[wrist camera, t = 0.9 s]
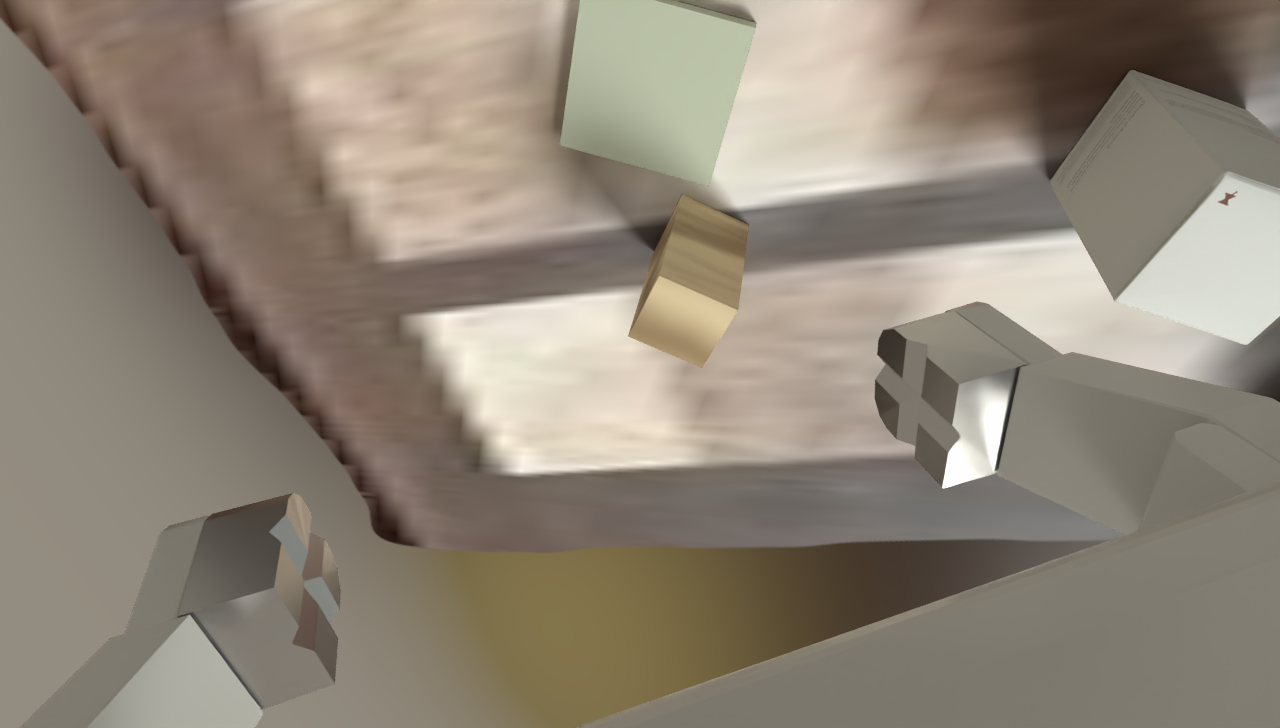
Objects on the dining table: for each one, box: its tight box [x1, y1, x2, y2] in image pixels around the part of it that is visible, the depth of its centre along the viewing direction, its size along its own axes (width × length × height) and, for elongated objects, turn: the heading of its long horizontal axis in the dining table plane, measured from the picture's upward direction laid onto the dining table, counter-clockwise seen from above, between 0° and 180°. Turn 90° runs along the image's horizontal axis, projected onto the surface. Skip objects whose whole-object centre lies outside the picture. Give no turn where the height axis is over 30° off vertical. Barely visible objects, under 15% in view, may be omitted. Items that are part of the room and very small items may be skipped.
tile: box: [560, 0, 756, 186], centre depth 45 cm, size 10×10×1 cm
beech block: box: [628, 195, 749, 368], centre depth 48 cm, size 5×5×10 cm
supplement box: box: [1050, 70, 1280, 345], centre depth 38 cm, size 7×7×13 cm
